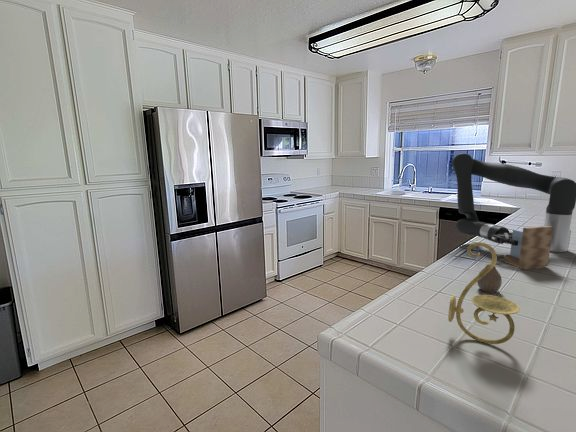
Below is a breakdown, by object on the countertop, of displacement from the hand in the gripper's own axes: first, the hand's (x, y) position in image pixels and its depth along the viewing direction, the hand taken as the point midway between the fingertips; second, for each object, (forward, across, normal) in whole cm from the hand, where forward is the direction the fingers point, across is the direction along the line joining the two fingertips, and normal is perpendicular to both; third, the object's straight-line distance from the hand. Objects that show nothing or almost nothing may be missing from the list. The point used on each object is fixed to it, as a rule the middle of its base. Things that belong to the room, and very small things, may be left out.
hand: (526, 242), depth 129 cm
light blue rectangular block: (-2, 0, +9) cm, 9 cm away
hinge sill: (-2, 0, +9) cm, 9 cm away
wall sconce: (+43, -58, +10) cm, 73 cm away
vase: (+18, -33, +10) cm, 39 cm away
